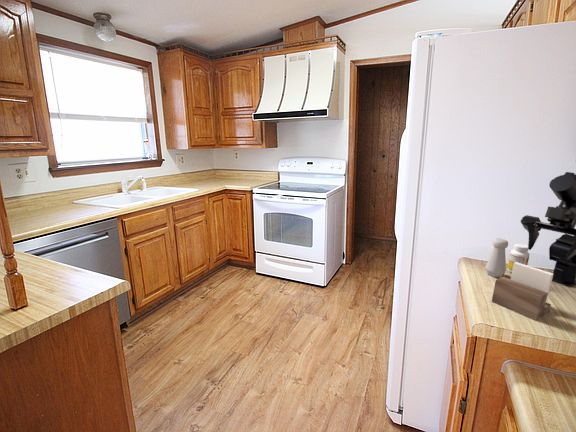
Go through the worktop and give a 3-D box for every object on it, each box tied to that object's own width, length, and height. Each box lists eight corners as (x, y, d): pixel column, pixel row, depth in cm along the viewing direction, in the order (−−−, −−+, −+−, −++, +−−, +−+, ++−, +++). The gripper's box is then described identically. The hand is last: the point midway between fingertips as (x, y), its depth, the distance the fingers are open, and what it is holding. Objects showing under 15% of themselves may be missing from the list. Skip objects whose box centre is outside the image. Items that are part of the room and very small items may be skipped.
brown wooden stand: (505, 293, 96) (510, 272, 94) (549, 310, 87) (555, 288, 85) (491, 301, 92) (495, 280, 90) (535, 320, 83) (541, 297, 81)
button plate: (512, 285, 95) (517, 261, 92) (548, 298, 87) (555, 272, 85) (508, 287, 93) (513, 263, 91) (544, 301, 86) (551, 275, 84)
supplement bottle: (517, 267, 113) (523, 242, 110) (529, 274, 108) (535, 248, 105) (503, 268, 113) (508, 242, 110) (514, 274, 108) (520, 248, 105)
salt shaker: (507, 279, 104) (515, 243, 101) (488, 278, 105) (495, 242, 102) (499, 272, 110) (506, 237, 106) (481, 270, 111) (488, 236, 107)
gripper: (527, 190, 97) (504, 233, 96) (608, 201, 82) (582, 252, 80) (536, 208, 103) (515, 248, 102) (614, 221, 88) (590, 269, 86)
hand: (547, 253), depth 92 cm, fingers open, 9 cm apart
